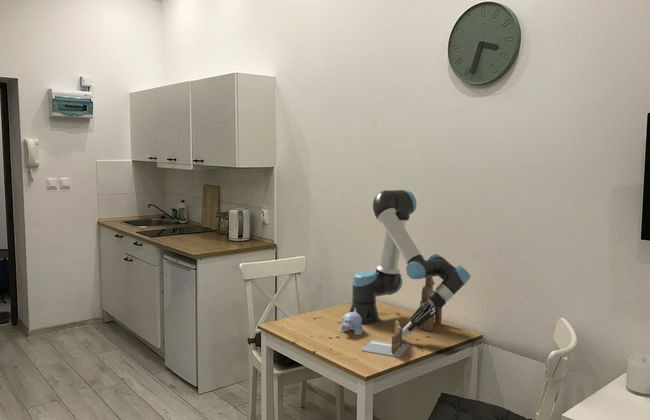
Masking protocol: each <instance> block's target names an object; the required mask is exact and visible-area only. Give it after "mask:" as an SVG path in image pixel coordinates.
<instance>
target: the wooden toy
mask: <svg viewBox="0 0 650 420" xmlns="http://www.w3.org/2000/svg"><path fill="white" fill-rule="evenodd" d="M435 285H436V283H435V281H434V279H433V277H427V278H425V283H424V286H422V289H421V300H420V302H419V306H420V305H421V303H422V302H424V303H426V302H427V301H428V300H429V299H430V298H429V295H430V293H431V292H432V291H434V286H435ZM435 313H436V314H435V315H433V316H432V317H430V318H429V319H428V320H427V321H426V322H424V323H423V324H422V325H421V326H420V327H418V326H417V327H416V329H417V330H422V331H427V332H432V330H433V325H434V324H435V325H441V324H442V316H443V307H442V308H440V307H437V309H436V310H435Z"/></svg>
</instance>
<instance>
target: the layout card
mask: <svg viewBox="0 0 650 420" xmlns="http://www.w3.org/2000/svg"><path fill="white" fill-rule="evenodd" d="M409 346H410V345H409V344H404V343H402V344H401V347H400V348H399V349H398V350H397V351H396V353H395V354H392V353H391V350H392V341H386V340H380V339H375V338H374V339H372V340H370V342H368V343H367V344H366V345H365V346H364V347H363V348H362V349H361V352H366V353H371V354H378V355H383V356H389V357H394V358H400V357H401V356H402V355H403V354H404V352H406V350H407V349H408V348H409ZM407 347H408V348H407ZM402 353H403V354H402Z"/></svg>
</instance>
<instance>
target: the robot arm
mask: <svg viewBox="0 0 650 420" xmlns="http://www.w3.org/2000/svg"><path fill="white" fill-rule="evenodd" d="M416 209H417V199H416V197H415V195H414V194H413V192H411V191H409V190H404V189H398V190H397V189H394V190H391V189H390V190H387V189H386V190H381V191H380V192H379V193H377V194H376V195H375V197H374V199H373V201H372V210H373V213H374V216H375V218H376V220H377V221H378V222H379V223H381V224H382V225H383V227H384V228H385V233H384V235H385V236H384V239H383V245H382V252H381V258H380V263H379V264H378V265H377V266H376V269H375V270H369V269H367V270H360V271H357V272H355V273H354V274H353V276H352V283H351V284H352V297H351V300H352V301H351V306H350V308H349V311H348V313H349V312H354V310H355V308H356V313H358V314H359V315H360V316H361V318H362V323H361V324H373V323H377V322H378V321H379V320H380V313H379V311H378V308H377V297H382V296H391V295H393V294H397V293H398V292H399V291H400V290H401V288H402V286H403V278H402V274H401V273H400V269H399V268H398V266H399V265H398V264H399V258H400V254H401V256H402V258H403V259H404V260H405V263H406V264H407V265H406V266H405V271H406V274H407V277H409V278H410V279H412V280H422V279H426V278H427V277H432V278H433V277H439V278H440V279H441V280H442V281H441V282H440V283H439V284H438V285H437V286H436V287H435V288H434V290H433V291H432V292H431V293H430V295H429V298H430V299H429V300H428V301H427V302H426V303H424V302H422V303H421V305H420V304H419V307H418V308H416V310H415V312H414V313H412V315H411V316H410V318H409V319H410V320H409V322H408V323H407V324H406V325H405V326H404V327H403V328H401V330H402V337H404V338H407V336H409V334H410V333H411V332H412V331H413V330H414V329H416V328H417V326H418V327H420V326H421V325H422V324H423V323H424V322H426V321H427V320H428V319H429V318H430V317H432V316H433V315H434V316H435V314H436V313H435V310H436V309H437V307H440V308H442V309H443V307H444V306H445V305H446V304H447V302H449V300H451V299H453V297H454V295H456V294H457V293H458V292H459V290H461V288H462V287H464V286H465V285H466V284H467V283H468V282H469V280H470V279H471V275H470V273H469V272H468V271H467V269H465V268H464V267H463V266H462V265H457V266H456V267H455V266H454V265H453V264H451V263H450V262H449V261H448V260H447V259H445V257H443V256H441V255H440V254H437V253H436V254H435V253H434V254H433V255H431V256H430V257H429V258H428V259H425V257H424V256H423V255H422V253H421V251H420V250H419V248H418V247H417V245H416V244H415V242H414V241H413V238H412V237H411V236H410V234H409V233H408V231H407V228H405V225H406V222H408V221H409V220H410V217H411V215H412V214H413V213H414V212H415V211H416Z"/></svg>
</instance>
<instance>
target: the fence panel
mask: <svg viewBox="0 0 650 420" xmlns="http://www.w3.org/2000/svg"><path fill="white" fill-rule="evenodd" d="M394 321H395V325H394V334H395V333H396V332H397V331H398V330H402V327H401V325H400V322H399V319H398V320H397V319H396V320H394Z"/></svg>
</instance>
